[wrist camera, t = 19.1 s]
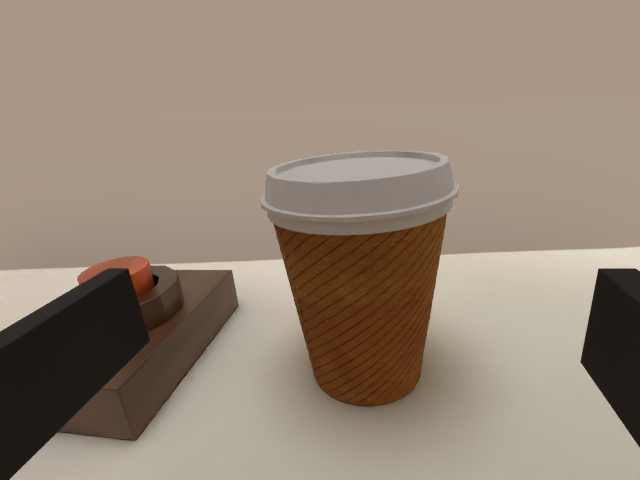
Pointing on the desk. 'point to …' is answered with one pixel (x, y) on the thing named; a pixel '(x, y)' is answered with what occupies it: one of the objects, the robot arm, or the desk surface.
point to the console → (160, 350)
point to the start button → (136, 267)
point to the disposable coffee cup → (362, 262)
